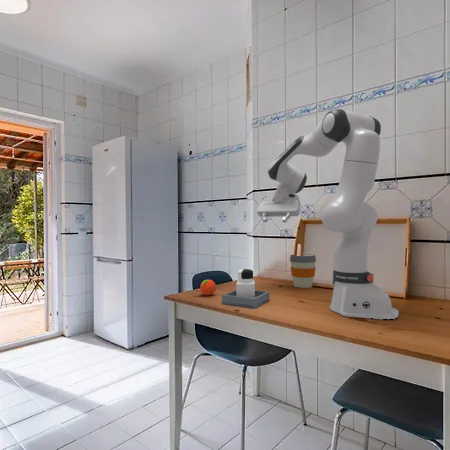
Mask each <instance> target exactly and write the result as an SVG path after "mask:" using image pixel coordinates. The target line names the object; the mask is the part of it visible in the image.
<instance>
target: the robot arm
mask: <svg viewBox="0 0 450 450" xmlns="http://www.w3.org/2000/svg"><path fill="white" fill-rule="evenodd" d="M381 128H382V125H381V123H380V121H379V120H378V119H377V118H375V117H373V116H372V115H366V114H364V113H363V114H362V113H360V112H357V111H353V110H344V109H342V108H341V109H340V108H336V109H331V110H329V111H327V112H326V114H325V116H324V117H323V119H321V121H320V122H319V123H318V124H317V125H316V126H315V128H314V130H313V131H312V132H311V133H308V134H307V135H302V136H299V137H297V138H296V140H294V141H293V142H292V143H291V144H290V145H289V146H288V147H287V148H286V149H285V150H284V151H283V152H282V153H281V154H280V155H279V156H278V157H276V159H275V160H273V161H272V162H271V163H270V164H269V166H268V168H267V174H268V176H269V179H271V180H273V181H276V182H278V184H277V186H276V190H275V192H274V194H273V197H272V199H271V200H264V201H261V202H260V204H259V205H258V207H257V209H256V214H257V215H258V217H259V218H262V222H263V223H267V222H268V217H269V218H272V217H274V218H275V217H277V218H278V217H282V219H281V221H282V223H287V222H288V220H289V219H291V218H292V217H299V216H300V213H301V211H302V210H301V201H300V197H299V195H298V193H300V192H301V191H302V190H304V187H305V185H306V184H307V179H308V178H307V173H306V172H305V171H304V170H301V169H299V168H298V167H296V166H294V165H292V164H291V163H289V162H290V161H291V159H292V158H294V157H295V156H297V155H303V156H304V155H305V156H311V157H315V158H318V157H325V156H327V155H329V154H330V153H331V152H332V151H334V149H335V147H337V145H338V144H339V143H344V144H345V147H346V149H345V151H346V152H345V155H344V159H343V165H342V171H341V176H340V178H339V179H340V180H339V183H338V186H337V188H336V191H335V193H334V194H333V197H332V199H331V200H330V202H329V203H328V204H327V205H325V207H324V208H323V209H322V212H321V223H322V224H323V226H324V228H326V229H327V230H329V231H332V232H335V233H339V234H340V237H339V240H338V243H337V244H336V245H335V248H334V250H333V254H334V256H333V257H334V258H333V261H334V262H333V268H334V269H333V270H332V285H333V290H332V291H333V292H332V298H331V302H330V306H329V310H331V311H332V312H335V313H338V314H340V315H341V316H343V317H347V318H348V317H349V318H360V319H361V318H364V319H371V318H373V319H374V320H383V319H388V320H387V321H390V320H389V319H394V320H396V319H395V318H397V317H398V316H400V312H399V309H397V308H395V307H392V306H393V305H392V304H393V303H392V300H391V298H390V296H389V294H388V293H387V292H386V291H385V290H383V289H382V288H381V287H379V286H378V285H377V284H375V283H374V279H375V278H374V273H372V272H370V271H368V249H369V248H368V247H369V243H370V240H371V236H372V235H371V234H372V231H373V228H374V226H375V225H376V224H377V221H378V212H377V210H376V208H374V207H373V206H372V205H370V204H368V203H366V202H364V201H365V199H366V197H367V196H368V194H369V192H370V191H371V190H372V189H373V188H374V185H375V179H376V175H377V170H378V164H379V159H380V149H381V148H380V147H381V141H380V140H381V138H380V134H381V131H382V129H381ZM398 318H399V317H398ZM398 318H397V319H398Z"/></svg>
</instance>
